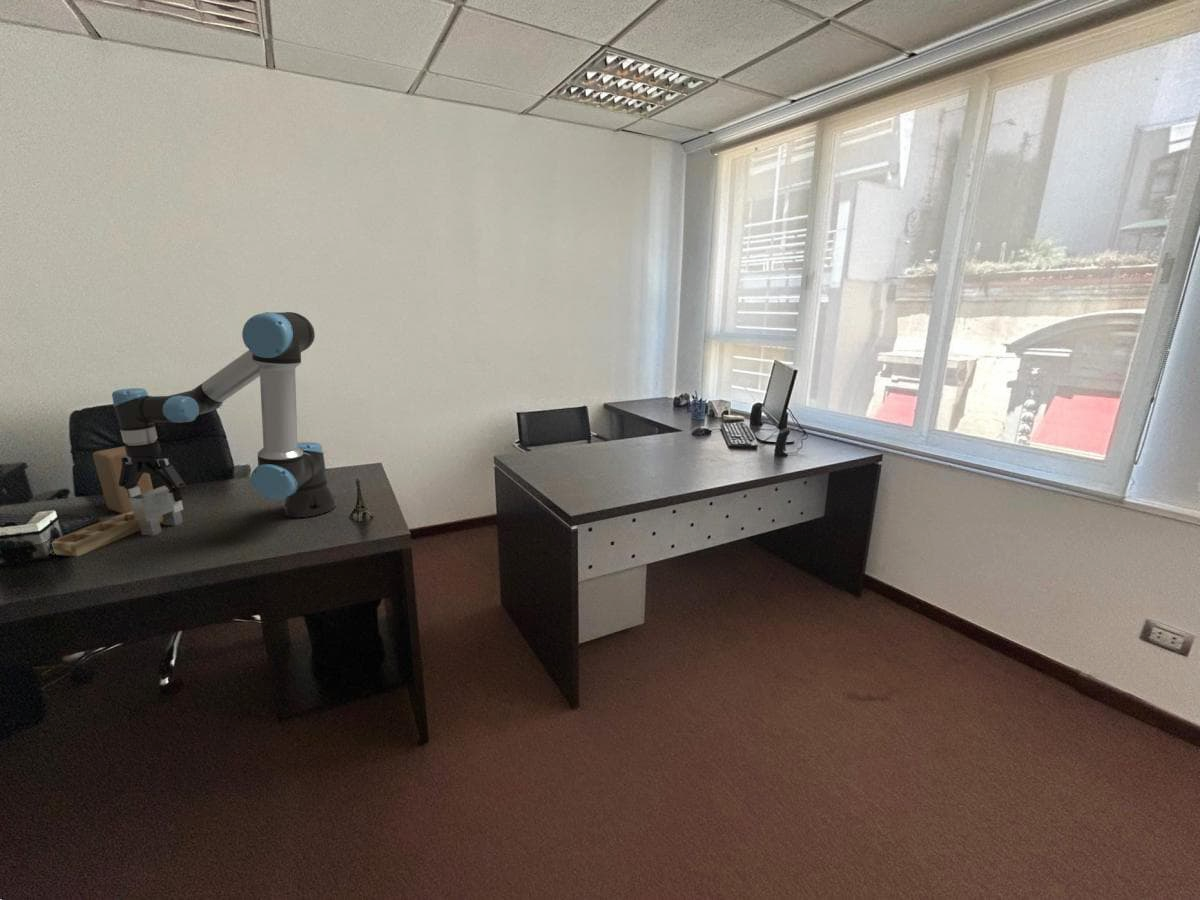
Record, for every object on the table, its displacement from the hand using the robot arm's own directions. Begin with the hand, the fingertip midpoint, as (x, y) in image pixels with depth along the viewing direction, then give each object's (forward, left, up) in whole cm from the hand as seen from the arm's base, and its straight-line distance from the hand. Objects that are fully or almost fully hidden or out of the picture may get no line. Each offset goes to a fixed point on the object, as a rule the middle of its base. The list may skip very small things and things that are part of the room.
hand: (158, 509), depth 152 cm
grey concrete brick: (0, 0, -6) cm, 6 cm away
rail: (+10, +5, -6) cm, 13 cm away
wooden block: (+26, -13, -7) cm, 30 cm away
